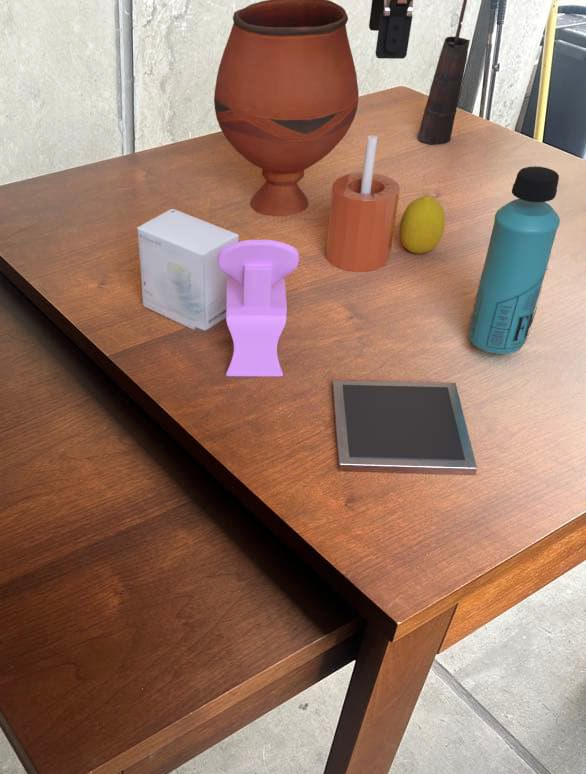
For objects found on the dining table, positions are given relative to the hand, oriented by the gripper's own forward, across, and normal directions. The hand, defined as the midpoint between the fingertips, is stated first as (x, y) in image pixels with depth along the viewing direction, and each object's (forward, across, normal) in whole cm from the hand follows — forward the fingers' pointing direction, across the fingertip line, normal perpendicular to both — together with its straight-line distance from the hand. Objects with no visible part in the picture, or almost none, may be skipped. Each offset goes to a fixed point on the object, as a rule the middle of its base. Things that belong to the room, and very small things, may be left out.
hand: (386, 43), depth 95 cm
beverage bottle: (+26, -21, -14) cm, 36 cm away
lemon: (+26, +1, -8) cm, 27 cm away
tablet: (+25, -36, -2) cm, 44 cm away
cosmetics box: (+26, -14, +21) cm, 36 cm away
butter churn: (+26, +40, -15) cm, 50 cm away
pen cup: (+26, -1, 0) cm, 26 cm away
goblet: (+26, +15, +10) cm, 32 cm away
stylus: (+25, -1, 0) cm, 25 cm away
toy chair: (+26, -23, +13) cm, 37 cm away
